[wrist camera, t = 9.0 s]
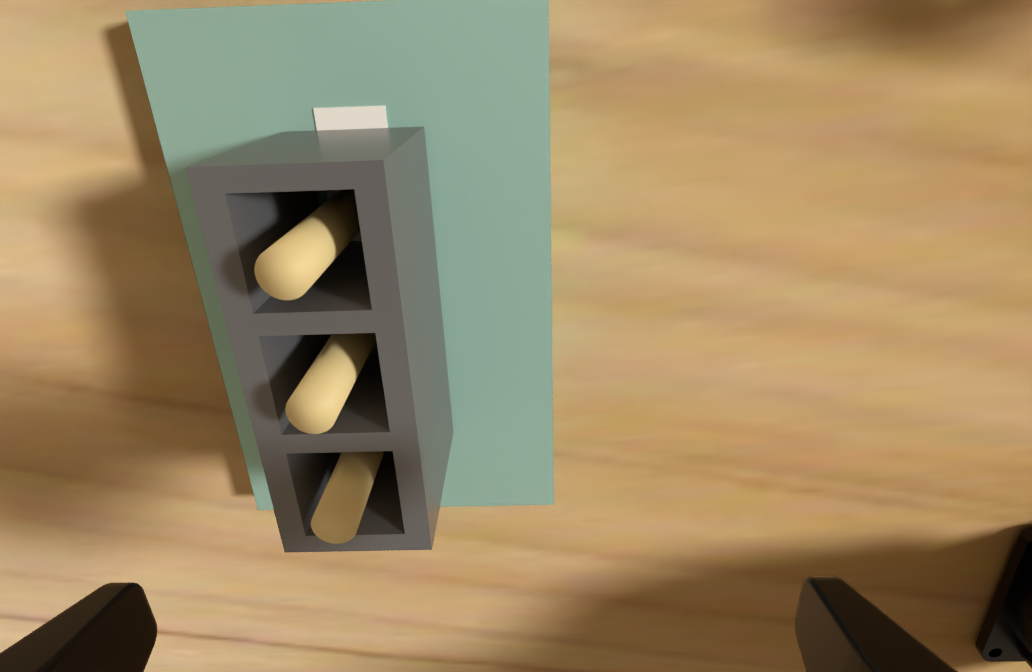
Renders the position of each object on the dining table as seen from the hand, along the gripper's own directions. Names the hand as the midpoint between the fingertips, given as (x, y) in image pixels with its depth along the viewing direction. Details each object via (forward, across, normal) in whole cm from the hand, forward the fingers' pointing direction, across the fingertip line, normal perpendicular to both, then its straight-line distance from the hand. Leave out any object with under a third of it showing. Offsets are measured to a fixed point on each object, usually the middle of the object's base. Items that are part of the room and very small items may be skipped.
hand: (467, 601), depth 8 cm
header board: (+12, +4, 0) cm, 12 cm away
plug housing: (+10, +4, 0) cm, 11 cm away
